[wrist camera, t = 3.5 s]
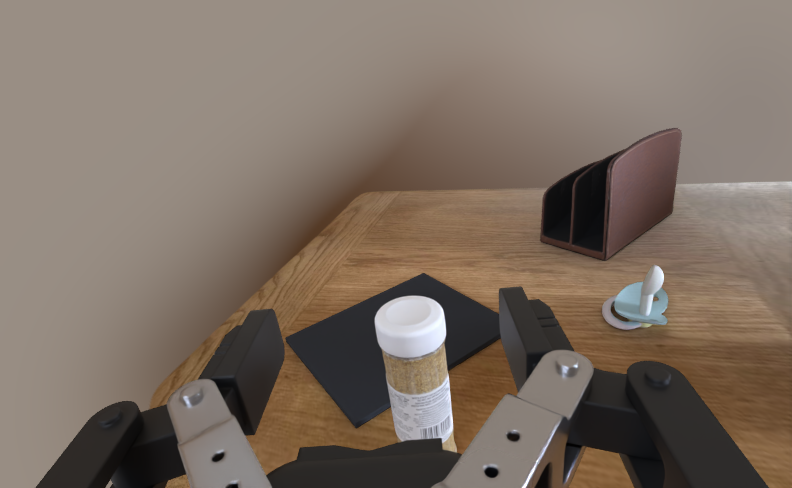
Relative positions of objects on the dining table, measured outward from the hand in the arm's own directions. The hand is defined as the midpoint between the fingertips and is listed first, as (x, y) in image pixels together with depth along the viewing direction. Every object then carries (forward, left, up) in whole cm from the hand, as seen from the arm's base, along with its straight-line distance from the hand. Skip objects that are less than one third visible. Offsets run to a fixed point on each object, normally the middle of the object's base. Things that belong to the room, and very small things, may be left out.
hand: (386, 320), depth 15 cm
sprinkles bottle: (-6, -9, -21) cm, 23 cm away
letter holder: (-51, -21, -21) cm, 59 cm away
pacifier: (-33, -8, -21) cm, 40 cm away
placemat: (-13, -23, -20) cm, 33 cm away
